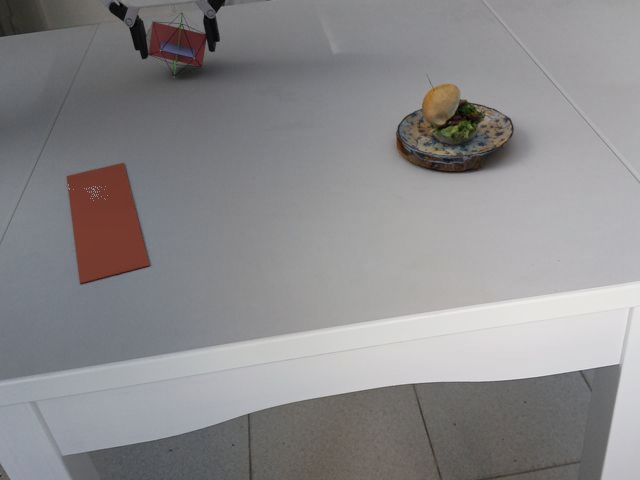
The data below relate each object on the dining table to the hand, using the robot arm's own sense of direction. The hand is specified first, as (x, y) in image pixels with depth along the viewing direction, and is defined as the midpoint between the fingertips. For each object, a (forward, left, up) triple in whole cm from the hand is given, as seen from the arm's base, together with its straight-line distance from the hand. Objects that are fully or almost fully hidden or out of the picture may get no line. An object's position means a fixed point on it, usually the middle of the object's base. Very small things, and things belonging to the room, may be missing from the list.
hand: (179, 50), depth 92 cm
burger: (+30, -27, -3) cm, 41 cm away
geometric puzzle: (0, 0, -3) cm, 3 cm away
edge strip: (-5, -34, -3) cm, 34 cm away
